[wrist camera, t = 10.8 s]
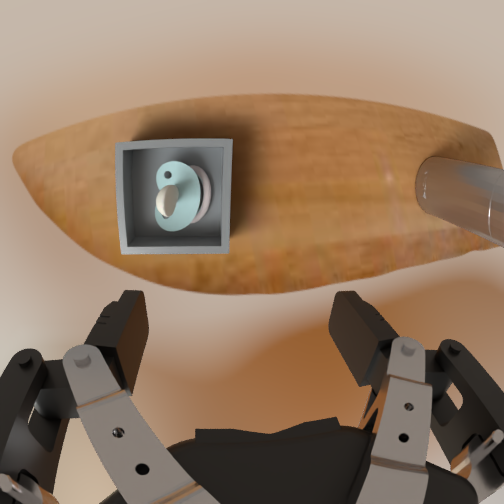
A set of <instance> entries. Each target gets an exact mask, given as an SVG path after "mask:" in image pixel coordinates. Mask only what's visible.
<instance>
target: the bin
mask: <svg viewBox="0 0 504 504" xmlns="http://www.w3.org/2000/svg"><path fill="white" fill-rule="evenodd" d="M232 146H233V139H162V140H144V141H131V142H120V143H116V146H115V170H116V199H117V215H118V227H119V238H120V247H121V254H221V253H229V235H230V199H231V170H232ZM171 161H178V162H182V163H184V164H186V165H188V166H191V165H195V166H199V167H200V168H202V169H203V170H204V171H205V173H206V174H207V176H208V178H209V181H210V185H211V200H210V204H209V207H208V210H207V212H206V213H205V215H204V216H203V217H202V218H201V219H200V220H199V221H197V222H195V223H190V224H189V225H188V226H186V227H185V228H183V229H181V230H178V231H167V230H164V229H163V228H161V227H160V226H159V224H158V223H157V221H156V218H155V207H156V198H157V195H158V193H159V191H160V190H159V188H158V186H157V182H156V175H157V171H158V169H159V168H160V167H161V166H162V165H163V164H165V163H167V162H171ZM164 176H165V177H166V178H168V179H169V178H171V177H172V173H171V172H170V171H166V172H165V173H164ZM197 177H198V176H197ZM198 180H199V183H200V203H199V207H198V210H199V208H200V207H201V204H202V201H203V196H204V190H203V185H202V182H201V180H200V178H199V177H198ZM198 210H197V211H198ZM163 217H164V218H165V219H167V218H169V217H170V216H169V217H166V216H164V215H163Z"/></svg>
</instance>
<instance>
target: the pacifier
mask: <svg viewBox="0 0 504 504" xmlns="http://www.w3.org/2000/svg"><path fill="white" fill-rule="evenodd" d="M166 171H170V172H171V173H172V177H171V178H169V179H168V178H166V177H165V176H164V173H165V172H166ZM197 176H198V177H199V178H200V180H201V182H202V185H203V190H204V196H203V201H202V204H201V207H200V208H199V210H198V207H199V203H200V183H199V180H198V177H197ZM156 182H157V186H158V188H159V190H160V191H159V193H158V195H157V198H156V207H155V218H156V221H157V223H158V224H159V226H160V227H161V228H163V229H164V230H167V231H178V230H181V229H183V228H185V227H186V226H188V225H189V224H190V223H195V222H197V221H199V220H200V219H201V218H202V217H203V216H204V215H205V213H206V212H207V210H208V207H209V204H210V200H211V185H210V181H209V178H208V176H207V174H206V173H205V171H204V170H203V169H202V168H200V167H199V166H195V165H191V166H188V165H186V164H184V163H182V162H178V161H171V162H167V163H165V164H163V165H162V166H161V167H160V168H159V169H158V171H157V175H156ZM197 210H198V211H197ZM163 215H164V216H166V217H169V216H170V217H169V218H167V219H165V218H164V217H163Z"/></svg>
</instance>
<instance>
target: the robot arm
mask: <svg viewBox="0 0 504 504" xmlns="http://www.w3.org/2000/svg"><path fill="white" fill-rule="evenodd" d="M416 196H417V200H418V202H419V205H420V206H421V208H422V209H423V210H424V211H425V212H426V213H429V214H431V215H433V216H436V217H438V218H441V219H443V220H445V221H448V222H450V223H452V224H455V225H457V226H459V227H461V228H464V229H466V230H468V231H470V232H472V233H475V234H477V235H479V236H481V237H483V238H485V239H487V240H489V241H491V242H493V243H495V244H498V245H500V246H501V247H503V248H504V170H503V169H498V168H494V167H490V166H485V165H481V164H476V163H471V162H466V161H460V160H455V159H449V158H443V157H430V158H428V159H427V160H425V161H424V163H423V164H422V165H421V167H420V169H419V171H418V174H417V179H416ZM148 333H149V325H148V317H147V311H146V305H145V297H144V293H143V291H137V290H135V291H134V290H125V291H124V292H123V294H122V296H121V297H120V299H119V301H118V302H117V301H113V302H111V303H110V304H109V305H107V306H106V307H105V308H104V309H103V311H102V313H101V314H100V317H99V318H98V319H97V321H96V324H95V325H94V327H93V328H92V330H91V332H90V334H89V335H88V337H87V339H86V341H85V343H84V344H83V345H78V346H75V347H73V348H71V349H69V350H68V351H67V352H66V354H65V355H64V357H63V359H61V360H50V361H44V360H43V358H42V355H41V353H40V352H39V351H37V350H35V349H24V350H21V351H19V352H17V353H16V354H15V355H14V356H13V357H12V359H11V360H10V362H9V364H8V365H7V367H6V369H5V370H4V372H3V374H2V376H1V377H0V504H59V502H58V501H57V499H56V498H55V497H54V496H53V490H54V484H55V477H56V473H57V468H58V463H59V459H60V454H61V450H62V446H63V442H64V438H65V434H66V431H67V427H68V423H69V420H70V418H81V421H82V424H83V425H84V428H85V430H86V432H87V435H88V437H89V439H90V441H91V443H92V445H93V447H94V449H95V451H96V453H97V455H98V456H99V458H100V460H101V462H102V464H103V465H104V467H105V469H106V470H107V472H108V474H109V476H110V478H111V479H112V481H113V482H114V484H115V486H116V487H117V490H116V491H115V492H113V493H112V494H111V495H110V496H108V497H107V498H106V499H104V500H103V501H102V502H101V503H99V504H479V503H480V502H481V501H483V500H484V499H485V498H487V497H488V496H490V495H491V494H493V493H494V492H496V491H497V490H498V489H500V488H501V487H502V486H504V393H503V391H502V390H501V389H500V387H499V386H498V385H497V384H496V382H495V381H494V380H493V379H492V377H491V376H490V375H489V374H488V373H487V372H486V370H485V369H484V368H483V367H482V366H481V365H480V363H479V362H478V361H477V360H476V359H475V358H474V357H473V356H472V354H471V353H470V352H469V351H468V350H467V349H466V348H465V347H464V346H463V345H462V344H461V343H459V342H457V341H455V340H451V339H446V340H443V341H442V342H441V344H440V346H439V348H438V350H425V349H424V347H423V346H422V344H421V343H419V342H418V341H417V340H415V339H412V338H409V337H400V336H399V335H398V334H397V333H396V332H395V331H394V329H393V328H392V327H391V326H390V325H389V324H388V322H387V321H386V320H385V319H384V318H383V317H382V315H380V313H379V312H378V311H377V310H376V309H375V308H374V307H373V306H372V305H370V304H369V303H367V302H365V301H363V300H362V299H361V298H360V297H359V295H358V294H357V293H356V292H355V291H339V292H337V293H336V295H335V298H334V302H333V307H332V311H331V315H330V319H329V333H330V335H331V337H332V339H333V341H334V342H335V344H336V346H337V348H338V350H339V351H340V353H341V355H342V357H343V358H344V360H345V362H346V364H347V366H348V367H349V369H350V371H351V373H352V374H353V376H354V378H355V380H356V382H357V384H358V386H359V387H361V386H366V385H371V387H372V388H371V390H370V392H369V395H368V398H367V402H366V405H365V408H364V411H363V414H362V417H361V420H360V423H359V426H358V428H356V427H351V426H340V424H339V422H338V420H337V417H332V418H327V419H322V420H316V421H310V422H304V423H302V424H299V425H296V426H293V427H291V428H288V429H285V430H282V431H279V432H276V433H272V434H265V433H257V432H249V431H243V430H236V429H195V438H194V439H189V440H185V441H182V442H179V443H177V444H174V445H172V446H170V447H168V448H165V447H164V445H163V444H162V443H161V442H160V440H159V439H158V438H157V437H156V435H155V434H154V432H153V431H152V430H151V428H150V427H149V426H148V424H147V423H146V421H145V420H144V419H143V417H142V416H141V415H140V413H139V411H138V410H137V408H136V407H135V405H134V404H133V402H132V401H131V399H130V398H129V396H132V394H133V389H134V386H135V382H136V378H137V374H138V370H139V367H140V363H141V360H142V356H143V352H144V349H145V345H146V342H147V339H148ZM452 382H453V383H454V385H455V386H456V388H457V389H458V390H459V392H460V393H461V395H462V397H463V404H462V406H461V408H460V409H459V410H458V409H457V407H456V406H455V405H454V403H453V402H452V400H451V399H450V397H449V396H448V394H447V393H446V391H447V389H448V388H449V387H450V385H451V384H452ZM33 406H34V407H35V408H34V411H33V413H32V416H31V418H30V421H29V424H28V419H29V416H30V414H31V411H32V409H33ZM430 428H431V430H432V432H433V433H434V435H435V437H436V439H437V441H438V442H439V444H440V446H441V448H442V450H443V452H444V454H445V456H446V457H447V459H448V461H449V463H450V465H451V466H450V470H451V471H448V470H446V469H443V468H441V467H439V466H436V465H434V464H432V463H430V462H427V461H426V456H427V449H428V442H429V433H430Z"/></svg>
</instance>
